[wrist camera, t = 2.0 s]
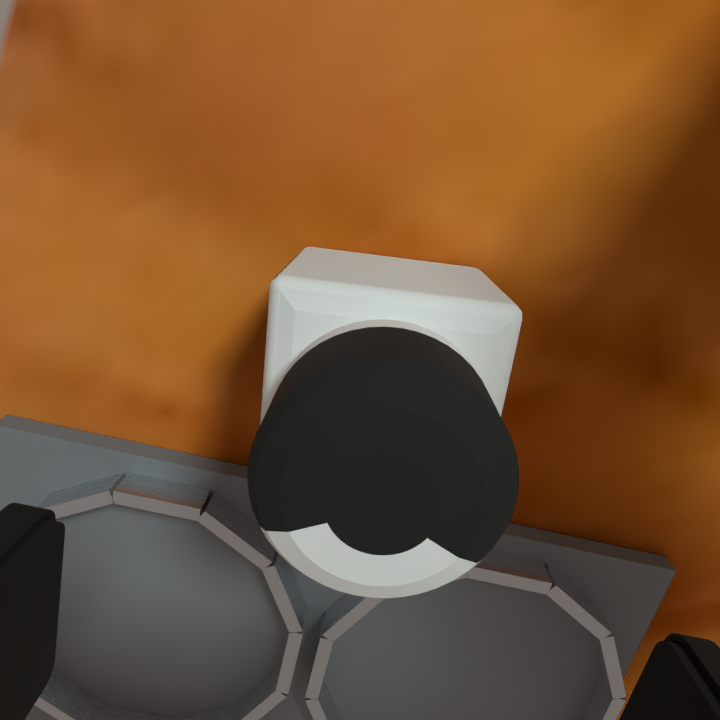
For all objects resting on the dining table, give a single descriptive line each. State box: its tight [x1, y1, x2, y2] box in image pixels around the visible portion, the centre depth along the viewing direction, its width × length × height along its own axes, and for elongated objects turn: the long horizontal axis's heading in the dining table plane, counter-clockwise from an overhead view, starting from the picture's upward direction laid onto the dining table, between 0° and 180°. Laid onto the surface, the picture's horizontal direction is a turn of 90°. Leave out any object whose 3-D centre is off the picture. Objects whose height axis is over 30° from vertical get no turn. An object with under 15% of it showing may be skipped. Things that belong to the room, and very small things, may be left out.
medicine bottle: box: [247, 247, 522, 598], centre depth 17 cm, size 7×7×12 cm
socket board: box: [0, 415, 676, 720], centre depth 28 cm, size 20×30×1 cm, turn 77°
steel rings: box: [34, 472, 626, 720], centre depth 26 cm, size 14×29×2 cm, turn 77°
